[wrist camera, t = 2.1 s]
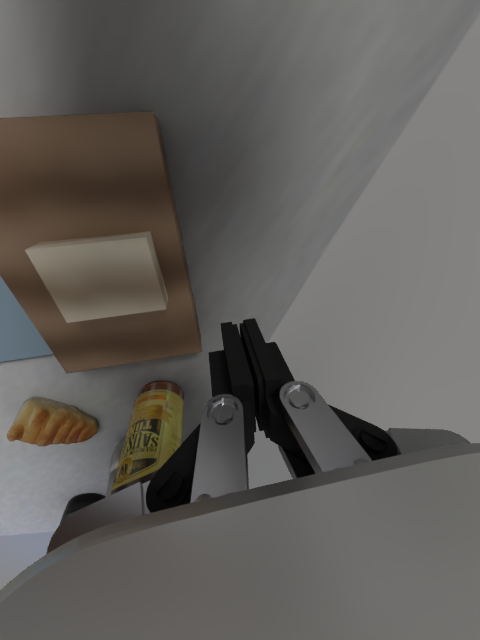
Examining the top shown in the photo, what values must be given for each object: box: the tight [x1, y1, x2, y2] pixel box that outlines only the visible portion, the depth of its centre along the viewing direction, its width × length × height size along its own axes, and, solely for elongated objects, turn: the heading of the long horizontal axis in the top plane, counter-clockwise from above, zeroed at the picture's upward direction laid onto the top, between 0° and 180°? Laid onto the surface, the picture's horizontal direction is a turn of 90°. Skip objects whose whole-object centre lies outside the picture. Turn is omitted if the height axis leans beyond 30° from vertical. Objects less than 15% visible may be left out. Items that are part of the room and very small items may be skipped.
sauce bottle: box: [111, 381, 184, 495], centre depth 24 cm, size 7×6×20 cm
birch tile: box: [25, 231, 168, 323], centre depth 19 cm, size 6×8×2 cm
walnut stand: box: [0, 111, 202, 373], centre depth 20 cm, size 20×14×3 cm
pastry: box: [7, 397, 98, 446], centre depth 30 cm, size 9×7×4 cm
